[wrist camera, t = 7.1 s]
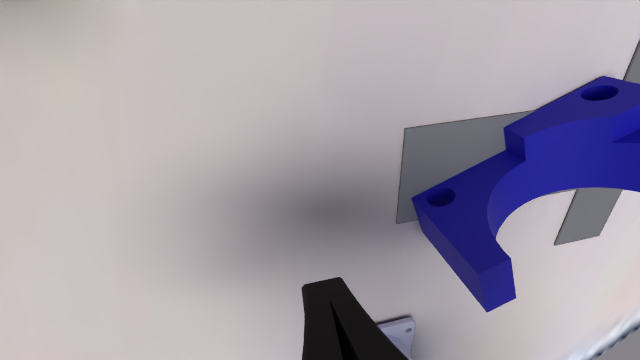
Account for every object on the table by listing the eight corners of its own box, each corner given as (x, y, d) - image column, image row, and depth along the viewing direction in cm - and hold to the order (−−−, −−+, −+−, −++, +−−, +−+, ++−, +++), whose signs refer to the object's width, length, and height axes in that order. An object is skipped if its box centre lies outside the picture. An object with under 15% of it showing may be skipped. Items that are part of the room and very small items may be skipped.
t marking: (598, 234, 25) (599, 235, 25) (390, 281, 22) (391, 282, 22) (718, -6, 17) (721, -6, 17) (415, 17, 14) (416, 17, 14)
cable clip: (603, 76, 17) (755, 109, 12) (598, 143, 20) (723, 194, 15) (404, 178, 18) (473, 252, 13) (422, 232, 20) (487, 312, 15)
